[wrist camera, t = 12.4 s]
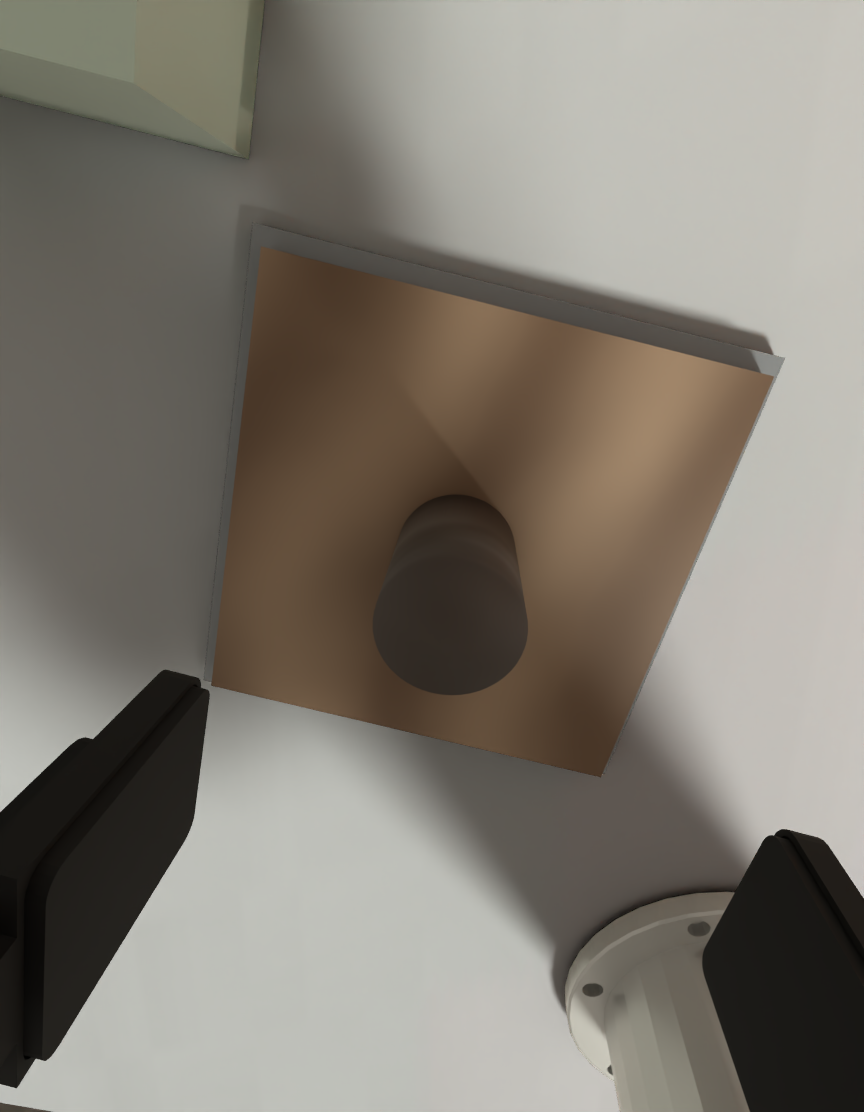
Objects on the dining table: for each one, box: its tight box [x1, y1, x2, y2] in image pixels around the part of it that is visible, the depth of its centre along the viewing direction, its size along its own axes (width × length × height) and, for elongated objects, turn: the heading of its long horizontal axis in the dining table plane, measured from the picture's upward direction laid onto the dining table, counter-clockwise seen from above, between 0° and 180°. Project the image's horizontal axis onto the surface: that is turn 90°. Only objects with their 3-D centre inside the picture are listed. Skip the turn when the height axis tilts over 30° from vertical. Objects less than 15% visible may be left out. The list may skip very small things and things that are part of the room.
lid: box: [211, 246, 774, 777], centre depth 17 cm, size 14×14×6 cm
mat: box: [204, 223, 785, 774], centre depth 20 cm, size 15×15×1 cm
